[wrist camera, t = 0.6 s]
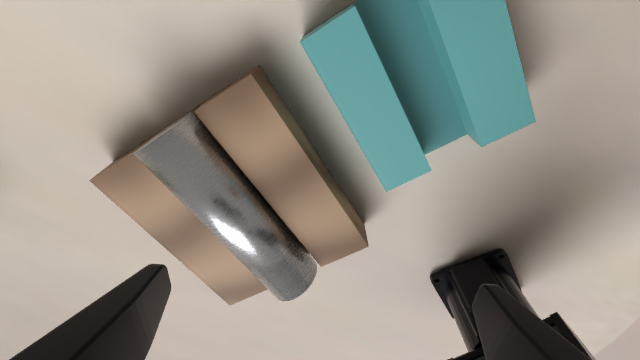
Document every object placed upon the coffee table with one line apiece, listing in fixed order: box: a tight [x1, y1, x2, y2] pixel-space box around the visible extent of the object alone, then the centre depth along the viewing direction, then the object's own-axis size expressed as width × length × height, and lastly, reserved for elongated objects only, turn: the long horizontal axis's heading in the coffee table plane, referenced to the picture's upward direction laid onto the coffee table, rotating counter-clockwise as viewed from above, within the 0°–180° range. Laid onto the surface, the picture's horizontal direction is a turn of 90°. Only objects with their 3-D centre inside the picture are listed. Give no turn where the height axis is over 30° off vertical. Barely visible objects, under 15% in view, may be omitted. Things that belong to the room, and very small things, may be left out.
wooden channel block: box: [90, 66, 369, 305], centre depth 22 cm, size 14×13×2 cm
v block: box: [300, 0, 536, 192], centre depth 17 cm, size 10×9×3 cm
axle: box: [133, 112, 317, 301], centre depth 21 cm, size 14×4×4 cm, turn 31°
